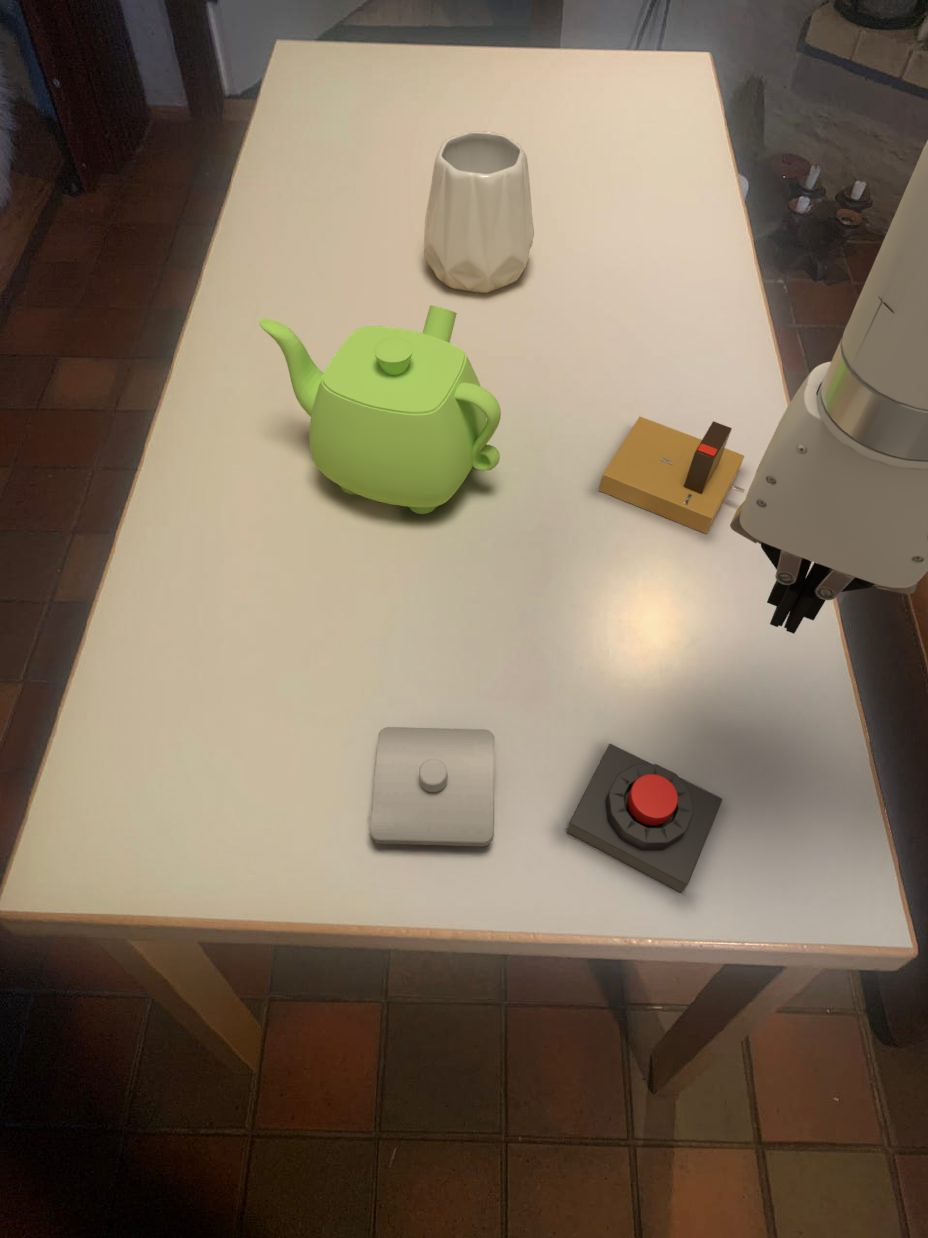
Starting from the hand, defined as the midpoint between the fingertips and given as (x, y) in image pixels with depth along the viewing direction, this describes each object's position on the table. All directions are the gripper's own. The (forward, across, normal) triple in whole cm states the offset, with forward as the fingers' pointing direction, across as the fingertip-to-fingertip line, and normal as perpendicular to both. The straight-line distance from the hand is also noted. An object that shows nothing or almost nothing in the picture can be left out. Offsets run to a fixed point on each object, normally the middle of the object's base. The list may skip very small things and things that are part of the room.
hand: (788, 612), depth 54 cm
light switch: (+22, +19, +14) cm, 32 cm away
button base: (+22, +3, +8) cm, 24 cm away
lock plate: (+22, +14, -29) cm, 39 cm away
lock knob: (+19, +11, -29) cm, 36 cm away
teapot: (+22, +42, -19) cm, 51 cm away
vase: (+21, +50, -52) cm, 75 cm away
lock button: (+18, +3, +8) cm, 20 cm away
